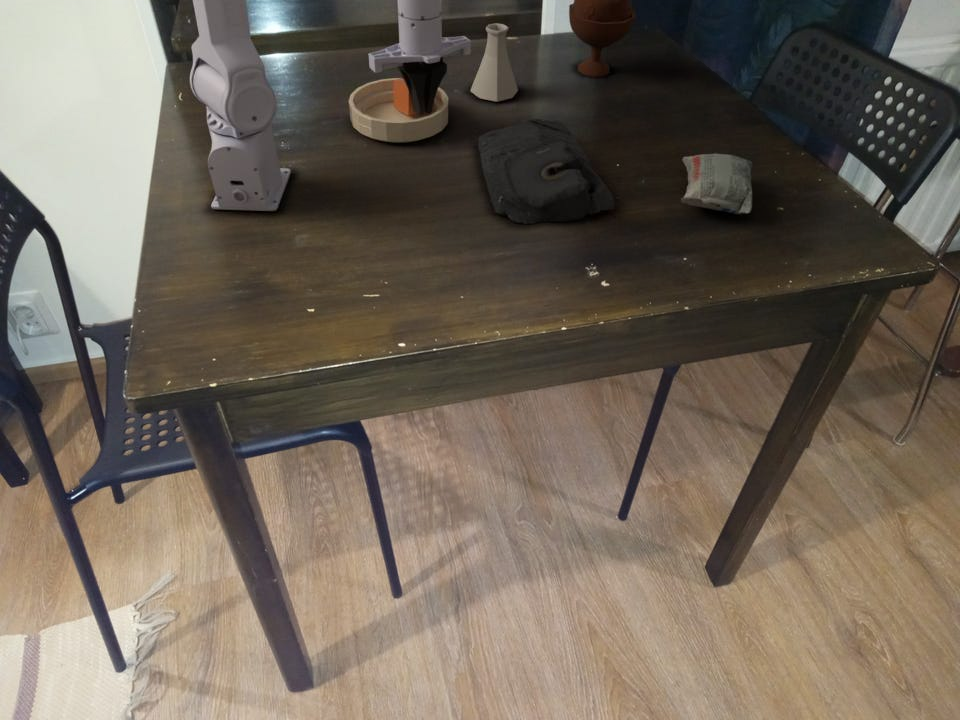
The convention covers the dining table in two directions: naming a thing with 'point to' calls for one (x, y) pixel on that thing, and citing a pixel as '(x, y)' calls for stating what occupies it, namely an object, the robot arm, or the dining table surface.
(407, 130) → the bowl
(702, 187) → the packaged food
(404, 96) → the block
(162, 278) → the dining table surface
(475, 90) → the flask
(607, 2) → the ice cream bowl
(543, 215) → the dark slate chunk
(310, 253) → the dining table surface
